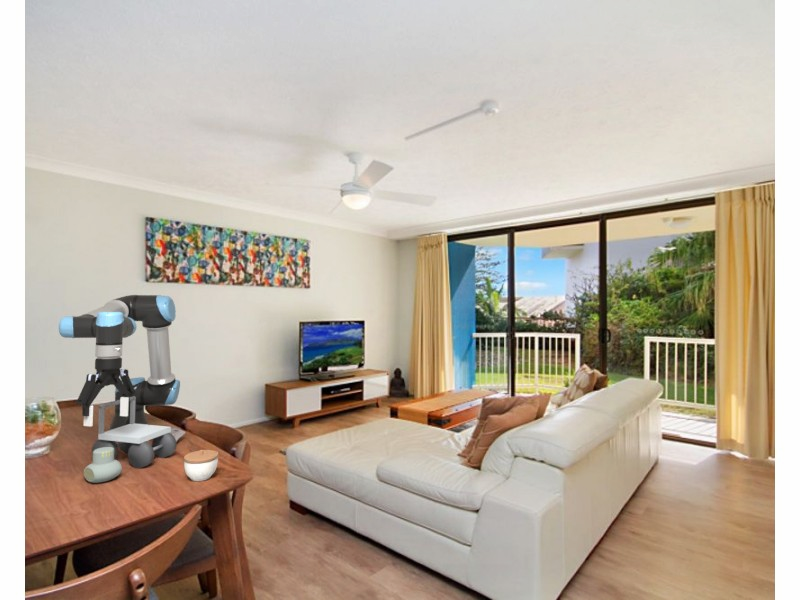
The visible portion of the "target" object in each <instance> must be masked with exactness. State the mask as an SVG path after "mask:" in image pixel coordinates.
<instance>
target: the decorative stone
mask: <svg viewBox="0 0 800 600" xmlns="http://www.w3.org/2000/svg"><path fill="white" fill-rule="evenodd" d="M169 433H170V434H172V435H173V436H174V438H175V440H176V443H177V442H178V441H179V439H180V438H181V437H183V436H184V435H185V434H187V432H186V431H184V430H182V429H179V428H174V427H171V432H169ZM153 439H154V438H153ZM153 439H152V440H153Z"/></svg>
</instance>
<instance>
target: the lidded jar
mask: <svg viewBox="0 0 800 600" xmlns="http://www.w3.org/2000/svg"><path fill="white" fill-rule="evenodd" d="M183 461H184V462H183V464H184V465H183V466H184V467H183V468H184V472H185V474H186V476H187V477H188V478H189V479H190V481H193V482H203V481H206V480H209V479H210V478H211V476H213V474H214V473H215V472H216V470H217V467H218V463H219V451H217V450H213V449H200V450H195V451H191V452H189V453H187V454H185V455H184V457H183Z"/></svg>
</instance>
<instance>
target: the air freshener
mask: <svg viewBox="0 0 800 600" xmlns="http://www.w3.org/2000/svg"><path fill="white" fill-rule="evenodd" d="M121 464H122V463H121V462H120V461H119V460H117V459H114V448H113V447H103V448H98V449H96V450H94V451H93V454H92V462H91V463H90V464H88V465H87V466H85V468H84V470H83V475H84V478H85V479H86V481H88V482H89V483H94V484H99V483H104V482H108V481H111V480H114V479H115V478H116V477H118V476H119V475H120V474H121V473H122V470H123V466H122V465H121Z"/></svg>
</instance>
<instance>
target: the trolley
mask: <svg viewBox="0 0 800 600" xmlns="http://www.w3.org/2000/svg"><path fill="white" fill-rule="evenodd" d="M135 400H136V397H135V396H133V397H130V424H128V425H125V426H122V427H119V428H115V429H112V430H110V429H109V430H106V431H105V408H110V407H113V406H115V405H117V404H120V400H116V401H115V400H113V401H108V402H105V403H100V404H99V405H98V430H97V431H98V432H97V434H98V436H97V439H96V440H95V441H94V443H93V444H92V447H91V454H92V455H93V451H94V450H96V449H98V448H103V447H113V448H114V460H116V457H117V455H118V451H119V450H120V451H121V453H124V454H126V455H127V457H128V462H129V464H130V465H132V467H133V468H137V469H142V468H145V467H146V466H149V465H150V464H152V462H153V460H154V458H155V456H157V457H159V458H162V459H163V458H166V457H169V456H171V455H173V454H174V453H175V452H176V449H177V442H176V440H175V438H174V436H173V435H172V434H170V433H169V432H171V428H172V426H165V425H156V424H148V425H146V424H136V423H135ZM153 438H154V439H153ZM150 440H152V442H151V443H149V441H150ZM118 448H119V449H118Z"/></svg>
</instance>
